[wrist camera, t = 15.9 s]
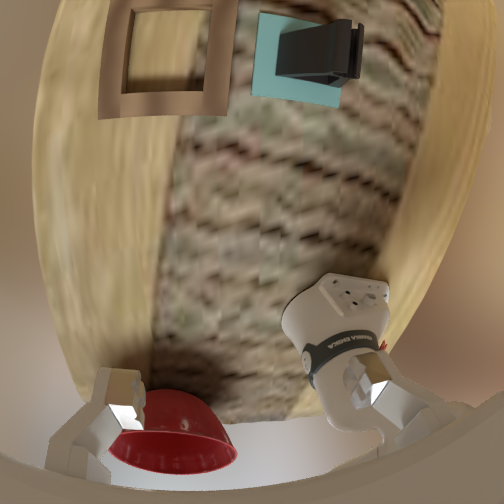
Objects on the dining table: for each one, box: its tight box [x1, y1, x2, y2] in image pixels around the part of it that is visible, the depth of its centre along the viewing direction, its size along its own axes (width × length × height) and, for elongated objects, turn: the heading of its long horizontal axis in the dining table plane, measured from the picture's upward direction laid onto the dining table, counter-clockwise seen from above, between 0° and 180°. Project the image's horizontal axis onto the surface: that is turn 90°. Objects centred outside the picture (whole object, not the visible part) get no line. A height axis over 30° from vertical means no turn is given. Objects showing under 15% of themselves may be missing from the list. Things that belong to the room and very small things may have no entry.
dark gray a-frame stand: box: [275, 19, 364, 88], centre depth 25 cm, size 9×6×12 cm, turn 84°
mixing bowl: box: [108, 389, 237, 475], centre depth 53 cm, size 28×28×15 cm
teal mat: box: [251, 13, 341, 108], centre depth 30 cm, size 12×12×1 cm
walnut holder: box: [98, 0, 239, 120], centre depth 26 cm, size 16×18×2 cm
